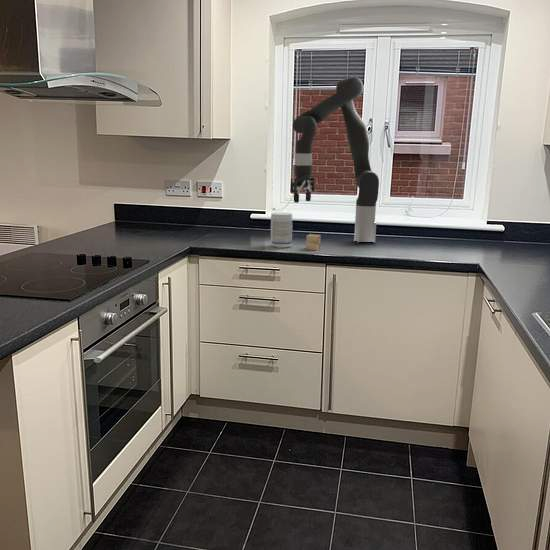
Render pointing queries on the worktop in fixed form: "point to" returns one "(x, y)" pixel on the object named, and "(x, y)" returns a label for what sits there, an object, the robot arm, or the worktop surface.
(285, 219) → the supplement tub
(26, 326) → the worktop surface
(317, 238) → the oak block
